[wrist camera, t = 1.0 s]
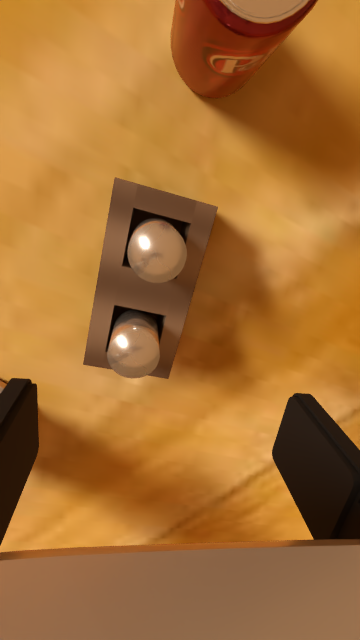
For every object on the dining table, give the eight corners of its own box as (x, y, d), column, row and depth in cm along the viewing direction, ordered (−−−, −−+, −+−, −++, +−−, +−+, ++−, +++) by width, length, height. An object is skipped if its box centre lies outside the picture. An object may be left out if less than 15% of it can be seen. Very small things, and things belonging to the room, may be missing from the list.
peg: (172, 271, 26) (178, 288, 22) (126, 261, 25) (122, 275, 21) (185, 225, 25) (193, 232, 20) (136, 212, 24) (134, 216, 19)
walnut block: (164, 349, 35) (168, 378, 29) (93, 336, 33) (83, 364, 28) (204, 204, 29) (217, 206, 24) (121, 180, 28) (114, 177, 22)
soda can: (151, 35, 24) (154, -102, 13) (225, -40, 23) (298, -262, 12) (205, 120, 26) (247, 69, 15) (274, 58, 25) (373, -48, 14)
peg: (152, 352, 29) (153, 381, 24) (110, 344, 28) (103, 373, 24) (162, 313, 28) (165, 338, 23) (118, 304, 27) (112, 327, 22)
